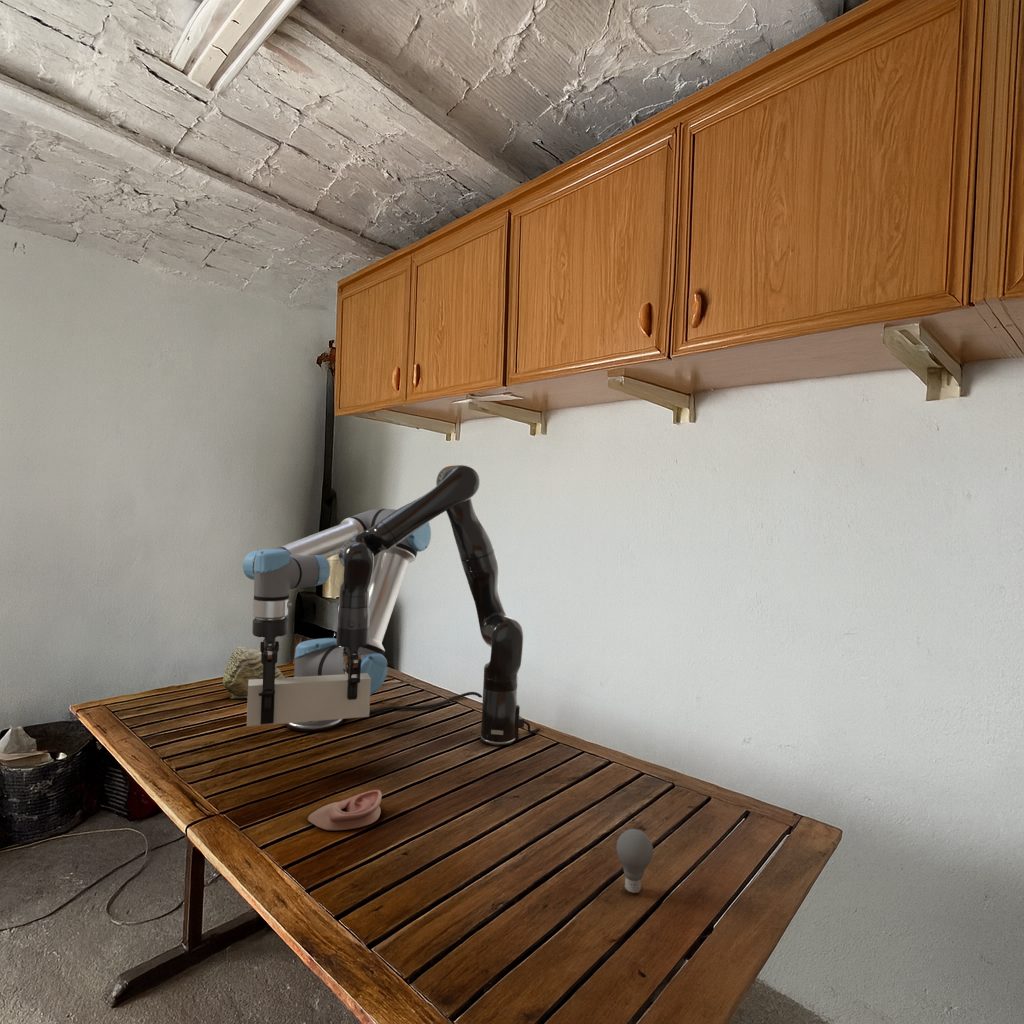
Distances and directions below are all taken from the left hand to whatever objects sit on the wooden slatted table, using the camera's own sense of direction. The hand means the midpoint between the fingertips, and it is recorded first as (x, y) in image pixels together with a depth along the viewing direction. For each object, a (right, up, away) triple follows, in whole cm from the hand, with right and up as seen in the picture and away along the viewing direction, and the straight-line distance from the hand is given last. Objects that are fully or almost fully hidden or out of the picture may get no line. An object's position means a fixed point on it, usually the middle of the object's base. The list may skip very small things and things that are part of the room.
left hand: (267, 718), depth 144 cm
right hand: (+17, +3, +7) cm, 19 cm away
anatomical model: (+23, -13, -19) cm, 33 cm away
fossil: (-25, -10, +53) cm, 60 cm away
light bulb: (+76, -16, -39) cm, 87 cm away
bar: (+9, -1, +3) cm, 9 cm away
